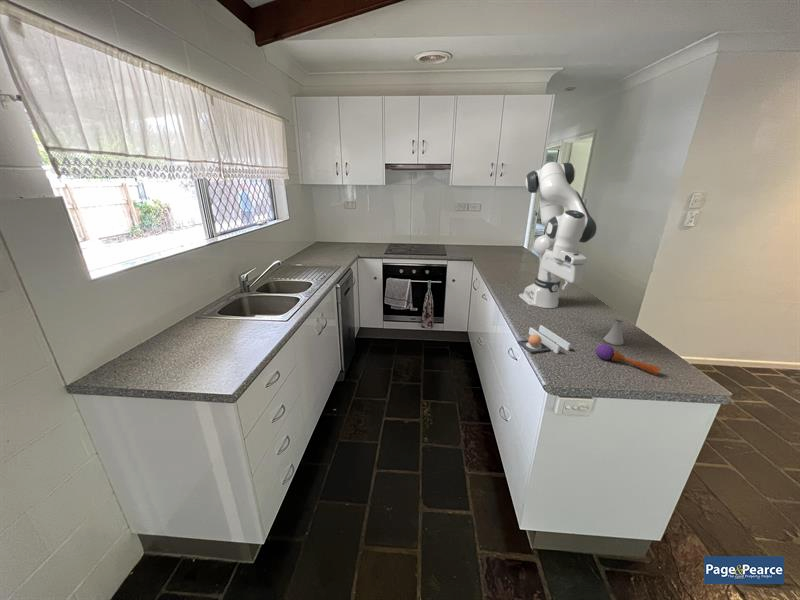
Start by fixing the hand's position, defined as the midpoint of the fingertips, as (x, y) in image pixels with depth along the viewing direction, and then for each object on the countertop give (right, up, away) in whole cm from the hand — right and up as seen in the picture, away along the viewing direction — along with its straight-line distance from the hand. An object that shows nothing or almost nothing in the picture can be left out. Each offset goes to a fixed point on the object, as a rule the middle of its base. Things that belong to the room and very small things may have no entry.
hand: (555, 285), depth 134 cm
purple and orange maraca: (+20, -31, -12) cm, 39 cm away
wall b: (-4, -24, +3) cm, 25 cm away
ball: (-10, -25, -1) cm, 27 cm away
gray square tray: (-10, -25, -1) cm, 27 cm away
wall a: (+1, -23, +5) cm, 24 cm away
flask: (+27, -24, +5) cm, 37 cm away
